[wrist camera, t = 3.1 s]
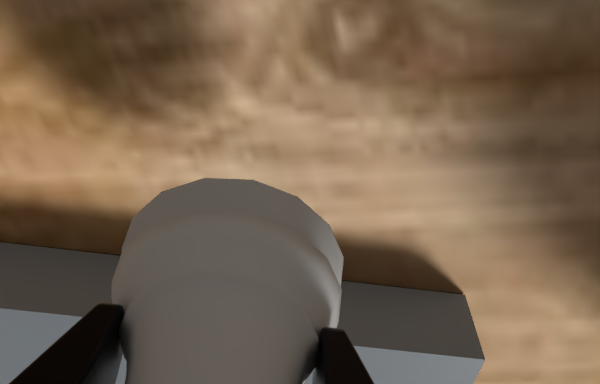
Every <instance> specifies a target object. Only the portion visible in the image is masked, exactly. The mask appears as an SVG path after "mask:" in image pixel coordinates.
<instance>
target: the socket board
mask: <svg viewBox="0 0 600 384" xmlns="http://www.w3.org/2000/svg"><path fill="white" fill-rule="evenodd" d="M119 259H120V256H118V255H109V254H100V253H91V252H83V251H74V250H65V249H56V248H47V247H39V246H30V245H21V244H12V243H3V242H0V384H9V383H10V382H11V381H12V380H13V379H14V378H16V377H17V376H18V375H19V374H20V373H21V372H22V371H23V370H24V369H26V368H27V367H28V366H29V365H30V364H31V363H32V362H33V361H34V360H36V359H37V358H38V357H39V356H40V355H41V354H42V353H43V352H44V351H46V350H47V349H48V348H49V347H50V346H51V345H52V344H53V343H55V342H56V341H57V340H58V339H59V338H60V337H61V336H62V335H63V334H65V333H66V332H67V331H68V330H69V329H70V328H71V327H72V326H73V325H75V324H76V323H77V322H78V321H79V320H80V319H81V318H82V317H83V316H85V315H86V314H87V313H88V312H89V311H90V310H91V309H92V308H93V307H95V306H96V305H97V304H99V303H112V298H111V292H112V279H113V276H114V273H115V271H116V268H117V265H118V262H119ZM341 289H342V294H341V304H340V314H339V322H338V325H337V328H340V329H343V330H345V332H346V333H347V335H348V337H349V338H350V340H351V342H352V344H353V346H354V348H355V349H356V351H357V353H358V355H359V357H360V358H361V360H362V362H363V364H364V366H365V368H366V369H367V371H368V373H369V375H370V377H371V378H372V380H373V382H374V384H473V383H474V381H475V379H476V377H477V375H478V373H479V371H480V369H481V367H482V365H483V363H484V361H485V358H484V355H483V351H482V348H481V345H480V342H479V339H478V335H477V332H476V329H475V326H474V323H473V319H472V316H471V313H470V310H469V307H468V303H467V300H466V297H465V295H462V294H453V293H444V292H435V291H427V290H418V289H409V288H400V287H391V286H382V285H374V284H365V283H356V282H347V281H341ZM112 304H113V303H112ZM126 363H127V361H126V360H125V358H124V355H122V359H121V363H120V367H119V371H118V375H117V379H116V383H115V384H125V379H126ZM312 379H313V371H312V373H311V374H310V375H309V377H308V378H307V380H306V381H305V382H304V384H312Z"/></svg>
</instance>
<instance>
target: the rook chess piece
mask: <svg viewBox="0 0 600 384" xmlns="http://www.w3.org/2000/svg"><path fill="white" fill-rule="evenodd" d="M121 250H122V254H121V256H120V259H119V262H118V265H117V268H116V271H115V273H114V276H113V279H112V292H111V298H112V303H113V304H120V305H122V306H123V308H124V318H123V321H122V323H121V326H120V328H119V337H120V342H121V346H122V351H123V355H124V358H125V360H126V361H127V363H126V379H125V384H304V382H305V381H306V380H307V378H308V377H309V375H310V374H311V373H312V371H313V370H314V369H315V367H316V363H317V359H318V346H319V335H320V331H321V329H322V328H323V327H331V328H337V325H338V322H339V314H340V304H341V294H342V289H341V280H342V270H343V260H344V257H343V255H342V253H341V250H340V248H339V246H338V244H337V241H336V239H335V237H334V234H333V232H332V230H331V228H330V225H329V224H328V223H327V222H326V221H324V220H323V219H322V218H321V217H320V216H319V215H318V214H317V213H315V212H314V211H313V210H312V209H311V208H310V207H309V206H307V205H306V204H305V203H304V202H303V201H302V200H301V199H299V198H298V197H297V196H294V195H292V194H289V193H286V192H284V191H281V190H278V189H276V188H273V187H270V186H268V185H265V184H263V183H260V182H257V181H255V180H242V179H215V178H203V179H200V180H197V181H194V182H191V183H188V184H185V185H181V186H178V187H175V188H172V189H169V190H166V191H163V192H161V193H160V194H159V195H157V196H156V197H155V198H154V199H153V200H152V201H151V202H150V203H148V204H147V205H146V206H145V207H144V208H143V209H142V210H141V211H139V212H138V213H137V214H136V215H135V216H134V217H133V218H132V221H131V224H130V226H129V229H128V232H127V235H126V238H125V241H124V244H123V246H122V249H121Z"/></svg>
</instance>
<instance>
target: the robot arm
mask: <svg viewBox="0 0 600 384" xmlns="http://www.w3.org/2000/svg"><path fill="white" fill-rule="evenodd" d="M123 318H124V308H123V306H122V305H120V304H112V303H99V304H97V305H96V306H95V307H93V308H92V309H91V310H90V311H89V312H88V313H87V314H86V315H85V316H83V317H82V318H81V319H80V320H79V321H78V322H77V323H76V324H75V325H73V326H72V327H71V328H70V329H69V330H68V331H67V332H66V333H65V334H63V335H62V336H61V337H60V338H59V339H58V340H57V341H56V342H55V343H53V344H52V345H51V346H50V347H49V348H48V349H47V350H46V351H44V352H43V353H42V354H41V355H40V356H39V357H38V358H37V359H36V360H34V361H33V362H32V363H31V364H30V365H29V366H28V367H27V368H26V369H24V370H23V371H22V372H21V373H20V374H19V375H18V376H17V377H16V378H14V379H13V380H12V381H11V382H10V383H9V384H115V383H116V379H117V375H118V371H119V367H120V363H121V359H122V355H123V351H122V346H121V342H120V337H119V328H120V326H121V323H122V321H123ZM312 384H374V382H373V380H372V378H371V377H370V375H369V373H368V371H367V369H366V368H365V366H364V364H363V362H362V360H361V358H360V357H359V355H358V353H357V351H356V349H355V348H354V346H353V344H352V342H351V340H350V338H349V337H348V335H347V333H346V332H345V330H343V329H340V328H331V327H323V328H322V329H321V331H320V335H319V346H318V359H317V363H316V367H315V369H314V370H313V379H312Z"/></svg>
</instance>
